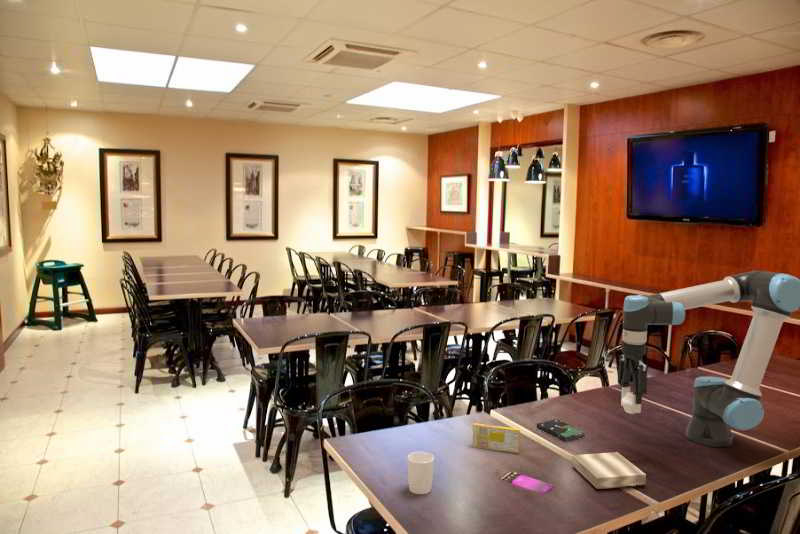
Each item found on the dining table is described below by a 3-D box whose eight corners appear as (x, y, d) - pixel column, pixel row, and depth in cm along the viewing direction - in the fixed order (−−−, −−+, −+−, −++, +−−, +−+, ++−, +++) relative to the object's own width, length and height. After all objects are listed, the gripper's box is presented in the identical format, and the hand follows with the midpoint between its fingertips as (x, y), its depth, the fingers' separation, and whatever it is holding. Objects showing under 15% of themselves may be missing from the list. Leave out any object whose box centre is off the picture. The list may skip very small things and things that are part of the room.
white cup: (405, 483, 175) (406, 451, 174) (431, 482, 176) (431, 451, 175) (408, 496, 167) (408, 463, 166) (435, 495, 168) (435, 462, 167)
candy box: (519, 451, 199) (520, 428, 198) (518, 454, 197) (519, 430, 196) (473, 444, 204) (473, 422, 203) (472, 447, 202) (472, 424, 201)
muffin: (643, 412, 195) (644, 392, 194) (636, 416, 190) (637, 396, 189) (624, 407, 199) (625, 388, 198) (617, 412, 194) (618, 392, 194)
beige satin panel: (616, 463, 190) (617, 452, 190) (645, 487, 174) (645, 474, 174) (571, 466, 187) (572, 455, 187) (596, 490, 172) (597, 478, 171)
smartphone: (510, 473, 184) (510, 470, 184) (554, 486, 175) (554, 484, 174) (499, 481, 179) (499, 478, 179) (544, 496, 169) (544, 493, 169)
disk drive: (535, 430, 219) (565, 444, 206) (536, 423, 219) (565, 436, 206) (555, 425, 224) (585, 438, 212) (555, 418, 224) (585, 431, 211)
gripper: (608, 336, 201) (605, 400, 203) (640, 349, 182) (636, 420, 184) (628, 335, 202) (625, 399, 204) (661, 348, 183) (657, 418, 186)
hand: (630, 408), depth 194 cm, fingers closed on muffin, 6 cm apart
